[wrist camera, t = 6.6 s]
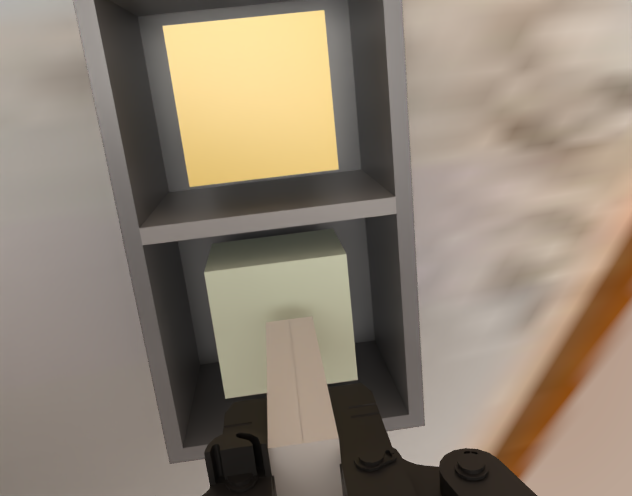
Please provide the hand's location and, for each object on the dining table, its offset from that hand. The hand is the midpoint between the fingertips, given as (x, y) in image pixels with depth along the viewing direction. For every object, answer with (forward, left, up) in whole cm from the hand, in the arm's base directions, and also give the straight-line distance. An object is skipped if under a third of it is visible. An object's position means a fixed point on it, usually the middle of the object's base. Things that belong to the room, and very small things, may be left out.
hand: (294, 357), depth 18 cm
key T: (0, +8, -6) cm, 10 cm away
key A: (0, 0, -6) cm, 6 cm away
